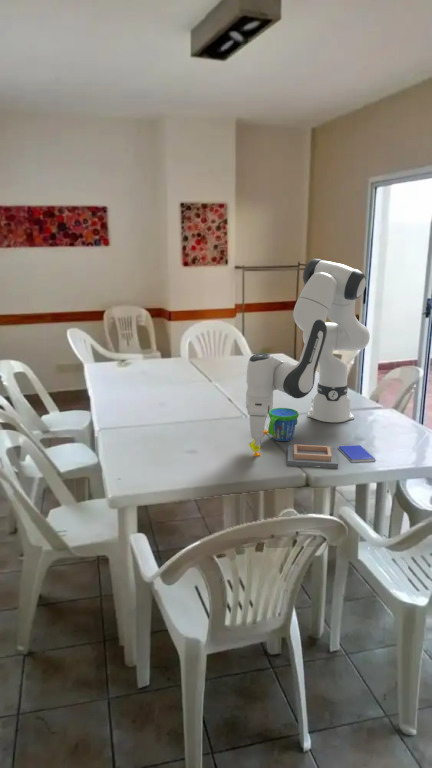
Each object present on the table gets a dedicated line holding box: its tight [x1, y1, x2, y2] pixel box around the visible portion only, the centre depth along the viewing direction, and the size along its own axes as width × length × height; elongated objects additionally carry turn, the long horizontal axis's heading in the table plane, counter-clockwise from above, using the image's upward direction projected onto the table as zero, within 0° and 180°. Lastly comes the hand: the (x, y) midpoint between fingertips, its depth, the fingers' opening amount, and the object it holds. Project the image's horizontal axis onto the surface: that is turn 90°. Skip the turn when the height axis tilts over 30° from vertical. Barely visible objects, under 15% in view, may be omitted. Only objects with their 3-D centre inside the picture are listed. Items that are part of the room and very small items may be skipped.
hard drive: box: [338, 444, 376, 463], centre depth 191 cm, size 2×8×12 cm
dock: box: [286, 443, 339, 469], centre depth 187 cm, size 14×16×3 cm
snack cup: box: [267, 407, 299, 442], centre depth 205 cm, size 16×10×10 cm
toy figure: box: [248, 429, 269, 457], centre depth 188 cm, size 7×4×12 cm, turn 97°
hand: (258, 442), depth 189 cm, fingers open, 4 cm apart
